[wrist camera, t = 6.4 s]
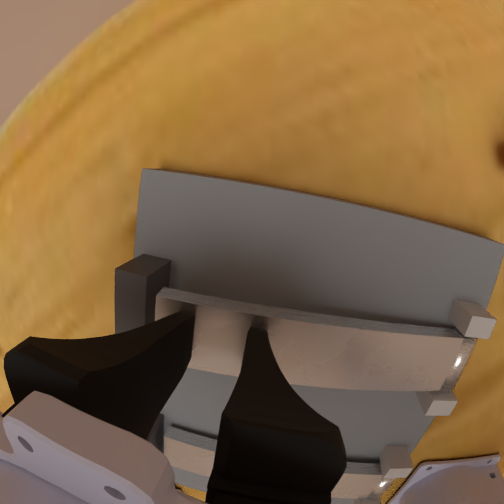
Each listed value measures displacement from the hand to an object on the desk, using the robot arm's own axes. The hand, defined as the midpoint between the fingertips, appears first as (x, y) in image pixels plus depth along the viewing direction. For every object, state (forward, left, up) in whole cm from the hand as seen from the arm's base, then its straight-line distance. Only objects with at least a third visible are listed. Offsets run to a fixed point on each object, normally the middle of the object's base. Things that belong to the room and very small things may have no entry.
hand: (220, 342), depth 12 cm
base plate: (-4, +5, -5) cm, 8 cm away
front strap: (-5, 0, -2) cm, 5 cm away
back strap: (-5, +10, -3) cm, 11 cm away
